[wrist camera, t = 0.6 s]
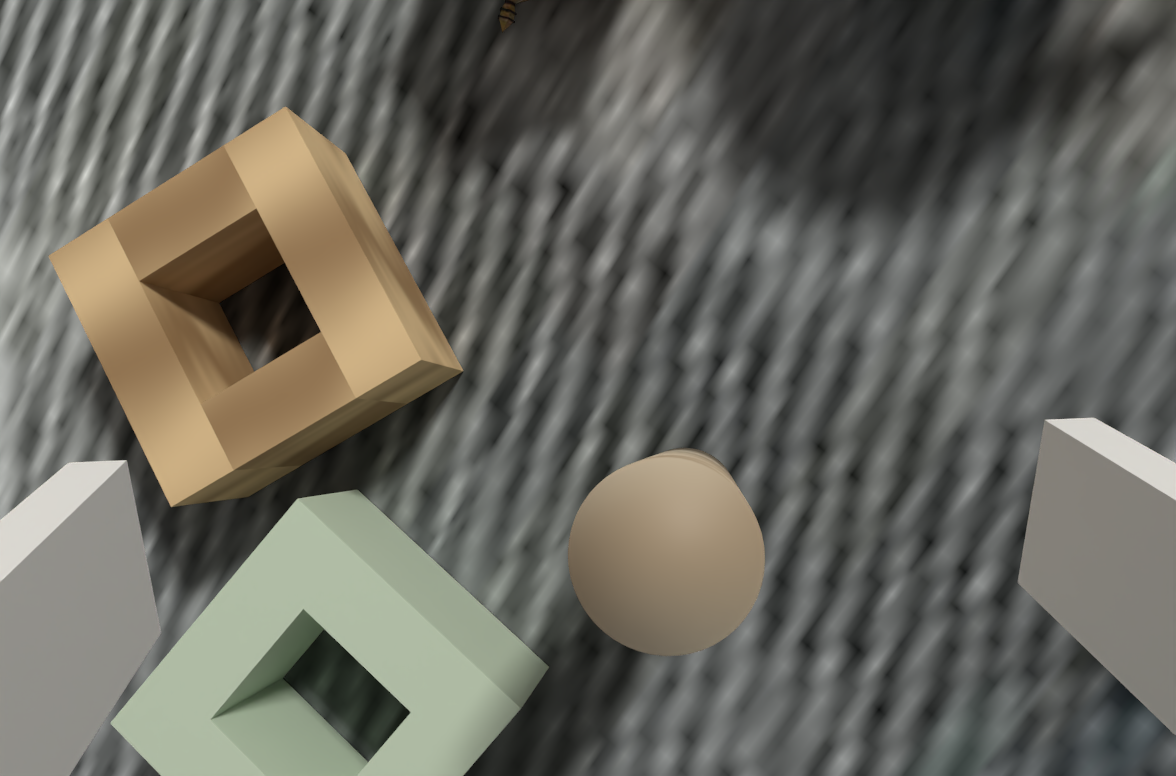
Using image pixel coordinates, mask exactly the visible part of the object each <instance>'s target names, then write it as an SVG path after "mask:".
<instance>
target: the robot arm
mask: <svg viewBox="0 0 1176 776" xmlns="http://www.w3.org/2000/svg"><path fill="white" fill-rule="evenodd" d="M1018 583H1019V584H1020V585H1021V586H1022V587H1023V588H1024V589H1025V590H1026V591H1027V592H1028V593H1029V594H1030V595H1031V596H1032V597H1033V598H1034V599H1035V600H1036V601H1037V602H1038V603H1039V604H1040V605H1041V606H1042V607H1043V608H1044V609H1045V610H1046V611H1047V612H1049V613H1050V614H1051V615H1052V616H1053V617H1054V618H1055V619H1056V620H1057V621H1058V622H1059V623H1060V624H1061V625H1062V626H1063V627H1064V628H1065V629H1066V630H1067V631H1068V632H1069V633H1070V634H1071V635H1072V636H1073V637H1074V638H1075V639H1076V640H1077V641H1078V642H1080V643H1081V644H1082V645H1083V646H1084V647H1085V648H1086V649H1087V650H1088V651H1089V652H1090V653H1091V654H1092V655H1093V656H1094V657H1095V658H1096V659H1097V660H1098V661H1099V662H1100V663H1101V664H1102V665H1103V666H1104V667H1105V668H1106V669H1107V670H1108V671H1110V672H1111V673H1112V674H1113V675H1114V676H1115V677H1116V678H1117V679H1118V680H1119V681H1120V682H1121V683H1122V684H1123V685H1124V686H1125V687H1126V688H1127V689H1128V690H1129V691H1130V692H1131V693H1132V694H1133V695H1134V696H1135V697H1136V698H1137V699H1138V700H1139V701H1141V702H1142V703H1143V704H1144V705H1145V706H1146V707H1147V708H1148V709H1149V710H1150V711H1151V712H1152V713H1153V714H1154V715H1155V716H1156V717H1157V718H1158V719H1159V720H1160V721H1161V722H1162V723H1163V724H1164V725H1165V726H1166V727H1167V728H1168V729H1169V730H1170V731H1172V732H1173V733H1174V734H1175V735H1176V463H1174V462H1172V461H1171V460H1169V459H1167V458H1165V457H1163V456H1162V455H1160V454H1158V453H1156V452H1154V451H1153V450H1151V449H1149V448H1147V447H1145V446H1144V445H1142V444H1140V443H1138V442H1137V441H1135V440H1133V439H1131V438H1129V437H1128V436H1126V435H1124V434H1122V433H1120V432H1119V431H1117V430H1115V429H1113V428H1111V427H1110V426H1108V425H1106V424H1104V423H1103V422H1101V421H1099V420H1097V419H1095V418H1077V419H1054V420H1045V422H1044V428H1043V434H1042V440H1041V446H1040V452H1039V458H1038V464H1037V470H1036V476H1035V482H1034V487H1033V493H1032V499H1031V505H1030V511H1029V517H1028V523H1027V529H1026V535H1025V541H1024V547H1023V553H1022V559H1021V565H1020V571H1019V577H1018ZM160 634H161V629H160V624H159V619H158V614H157V609H156V604H155V599H154V594H153V589H152V584H151V579H150V574H149V569H148V564H147V559H146V554H145V549H144V544H143V539H142V534H141V529H140V524H139V519H138V514H137V509H136V504H135V499H134V494H133V489H132V484H131V479H130V473H129V468H128V463H127V460H120V461H97V462H74V463H68V464H66V465H65V466H64V467H63V468H62V469H61V470H59V471H58V472H57V473H56V474H55V475H53V476H52V477H51V478H50V479H49V480H47V481H46V482H45V483H44V484H43V485H42V486H40V487H39V488H38V489H37V490H36V491H34V492H33V493H32V494H31V495H30V496H28V497H27V498H26V499H25V500H24V501H22V502H21V503H20V504H19V505H18V506H17V507H15V508H14V509H13V510H12V511H11V512H9V513H8V514H7V515H6V516H5V517H3V518H2V519H1V520H0V776H69V775H70V774H71V772H72V770H73V769H74V767H75V766H76V764H77V763H78V761H79V760H80V758H81V756H82V755H83V753H84V752H85V750H86V749H87V747H88V746H89V744H90V742H91V741H92V739H93V738H94V736H95V735H96V733H97V732H98V730H99V728H100V727H101V725H102V724H103V722H104V721H105V719H106V718H107V716H108V715H109V713H110V711H111V710H112V708H113V707H114V705H115V704H116V702H117V701H118V699H119V697H120V696H121V694H122V693H123V691H124V690H125V688H126V687H127V685H128V683H129V682H130V680H131V679H132V677H133V676H134V674H135V673H136V671H137V670H138V668H139V666H140V665H141V663H142V662H143V660H144V659H145V657H146V656H147V654H148V652H149V651H150V649H151V648H152V646H153V645H154V643H155V642H156V640H157V638H158V637H159V635H160Z"/></svg>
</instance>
